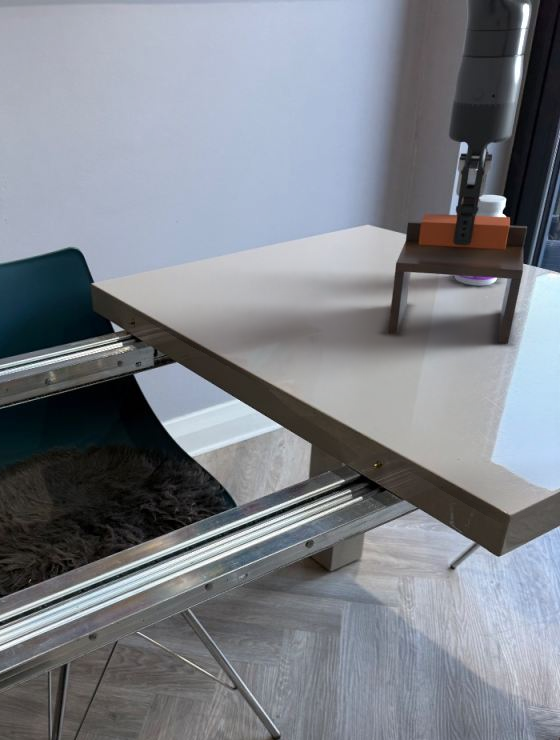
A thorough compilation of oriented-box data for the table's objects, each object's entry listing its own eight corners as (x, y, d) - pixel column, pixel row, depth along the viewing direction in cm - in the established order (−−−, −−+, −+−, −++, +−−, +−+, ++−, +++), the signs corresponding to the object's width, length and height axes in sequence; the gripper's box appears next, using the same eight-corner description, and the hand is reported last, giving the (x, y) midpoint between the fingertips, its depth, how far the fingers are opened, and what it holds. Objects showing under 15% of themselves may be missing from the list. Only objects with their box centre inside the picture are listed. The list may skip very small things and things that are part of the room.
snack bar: (505, 240, 106) (510, 217, 104) (505, 249, 103) (509, 225, 101) (421, 235, 110) (424, 213, 108) (418, 244, 106) (421, 221, 104)
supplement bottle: (447, 282, 128) (459, 199, 121) (464, 271, 132) (478, 191, 125) (486, 289, 125) (502, 205, 117) (503, 278, 129) (519, 196, 121)
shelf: (509, 313, 116) (527, 226, 109) (507, 343, 106) (527, 250, 99) (398, 304, 121) (408, 220, 114) (387, 333, 111) (398, 243, 104)
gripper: (518, 105, 90) (490, 256, 99) (518, 89, 101) (493, 226, 110) (449, 105, 92) (429, 252, 102) (457, 89, 103) (438, 224, 112)
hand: (463, 238), depth 106 cm, fingers closed on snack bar, 4 cm apart
